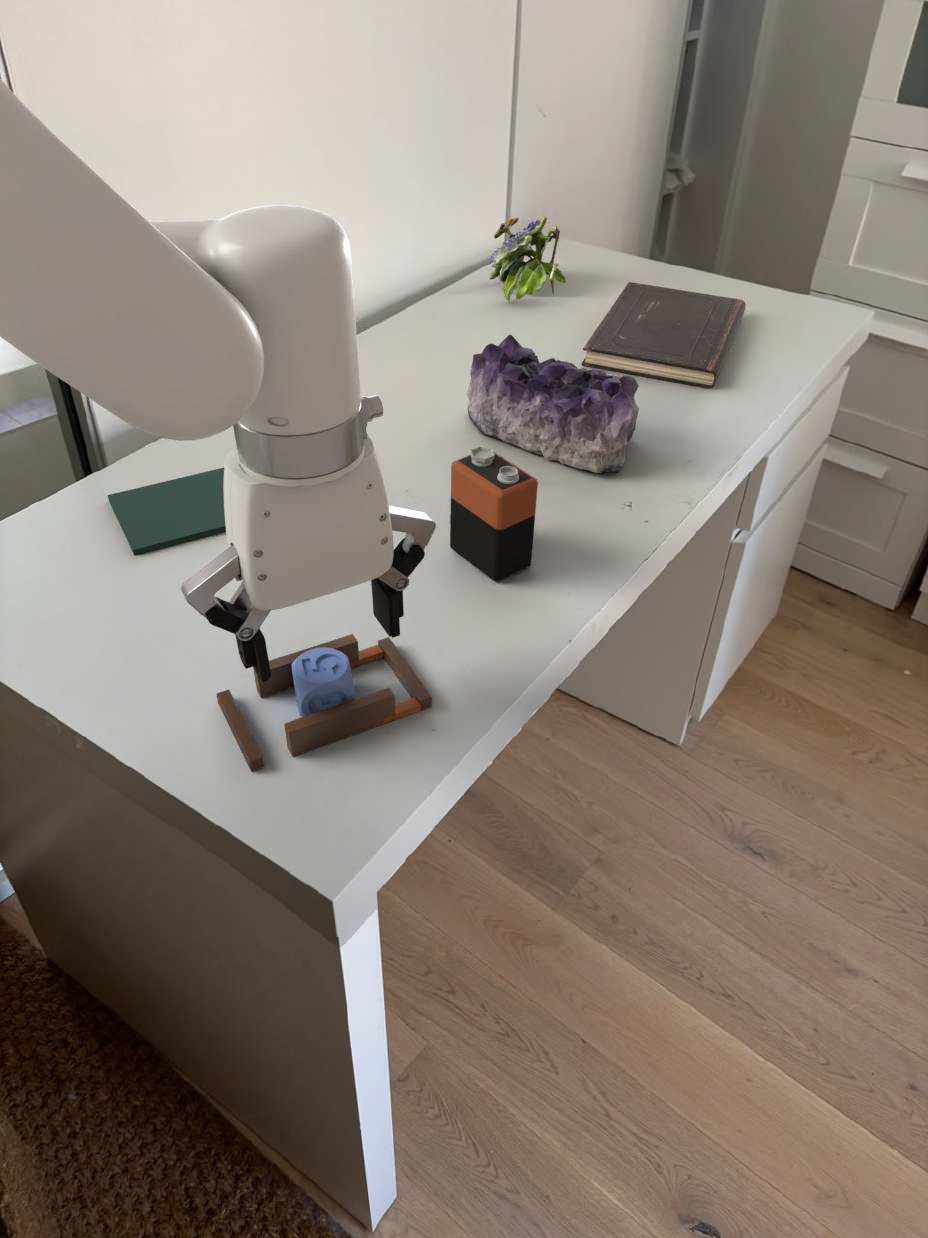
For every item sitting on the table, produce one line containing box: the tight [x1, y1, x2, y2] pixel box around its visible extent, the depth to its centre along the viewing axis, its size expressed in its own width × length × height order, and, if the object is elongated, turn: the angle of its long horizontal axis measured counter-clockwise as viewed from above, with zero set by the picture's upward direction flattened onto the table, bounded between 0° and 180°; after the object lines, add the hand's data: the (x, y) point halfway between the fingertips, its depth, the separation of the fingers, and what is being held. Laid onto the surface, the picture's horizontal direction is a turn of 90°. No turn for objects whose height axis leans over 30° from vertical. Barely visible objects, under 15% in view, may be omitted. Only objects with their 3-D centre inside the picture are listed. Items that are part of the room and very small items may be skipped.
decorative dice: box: [292, 647, 356, 718], centre depth 70 cm, size 4×4×4 cm
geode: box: [466, 334, 640, 474], centre depth 100 cm, size 20×12×10 cm, turn 59°
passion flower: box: [488, 216, 567, 304], centre depth 133 cm, size 11×11×12 cm
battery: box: [449, 445, 539, 583], centre depth 83 cm, size 4×7×10 cm, turn 39°
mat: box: [107, 467, 226, 556], centre depth 92 cm, size 16×10×1 cm, turn 118°
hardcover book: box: [581, 281, 747, 389], centre depth 122 cm, size 16×23×2 cm
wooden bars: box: [215, 633, 433, 772], centre depth 71 cm, size 14×8×2 cm, turn 118°
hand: (324, 646), depth 68 cm, fingers open, 9 cm apart
